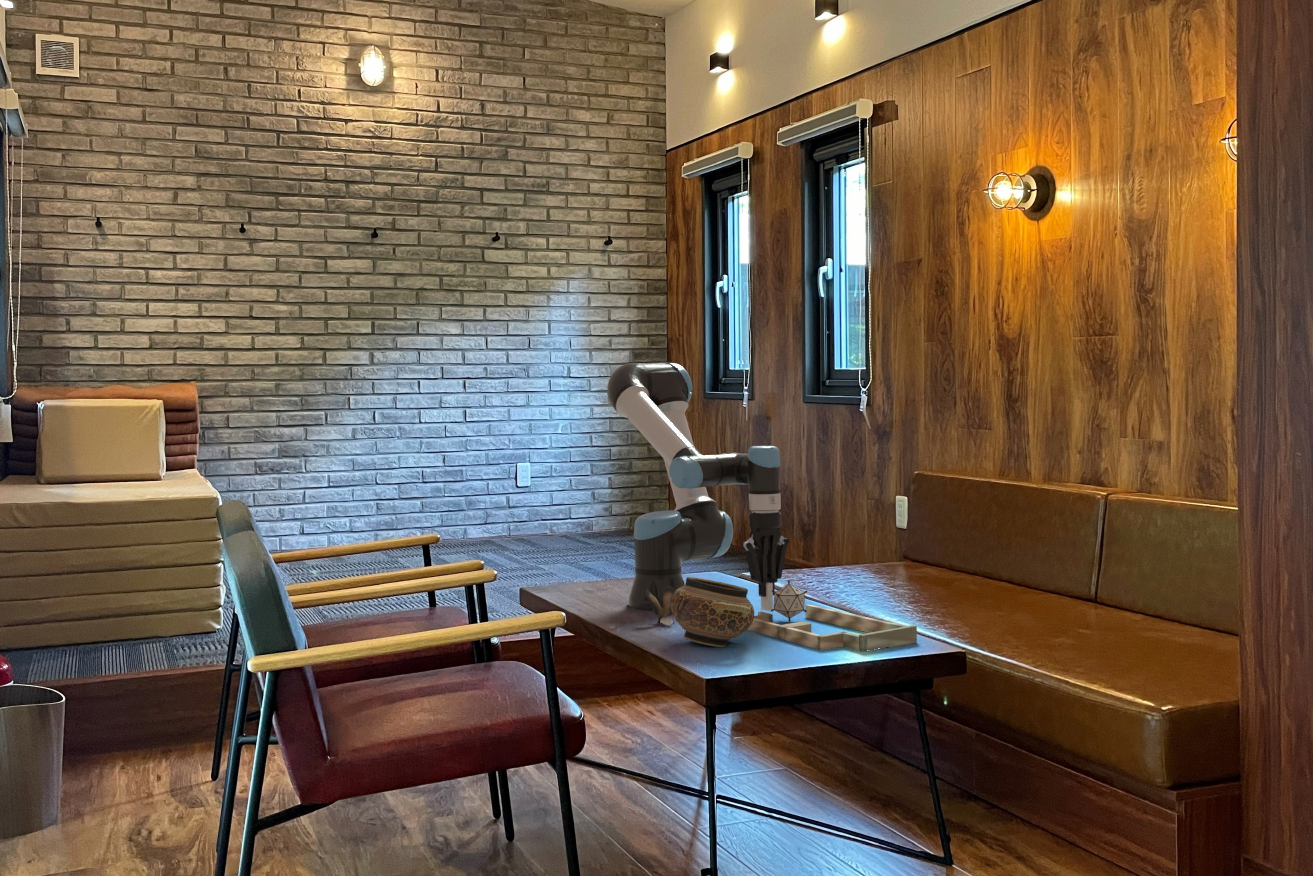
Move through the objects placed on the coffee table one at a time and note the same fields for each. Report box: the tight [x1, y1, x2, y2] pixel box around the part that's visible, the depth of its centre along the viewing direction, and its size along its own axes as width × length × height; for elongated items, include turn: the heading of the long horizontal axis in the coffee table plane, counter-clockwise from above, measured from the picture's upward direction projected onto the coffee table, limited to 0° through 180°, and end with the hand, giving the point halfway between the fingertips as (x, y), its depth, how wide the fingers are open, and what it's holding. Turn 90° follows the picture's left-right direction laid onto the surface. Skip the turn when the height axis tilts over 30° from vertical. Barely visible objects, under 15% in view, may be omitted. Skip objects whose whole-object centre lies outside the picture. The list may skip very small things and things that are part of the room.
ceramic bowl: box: [671, 576, 755, 648], centre depth 259 cm, size 24×18×15 cm
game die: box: [770, 579, 809, 623], centre depth 283 cm, size 9×8×10 cm
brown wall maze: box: [746, 604, 918, 652], centre depth 268 cm, size 35×21×4 cm, turn 33°
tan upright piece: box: [646, 586, 676, 626], centre depth 281 cm, size 8×7×9 cm
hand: (767, 609), depth 290 cm, fingers closed
